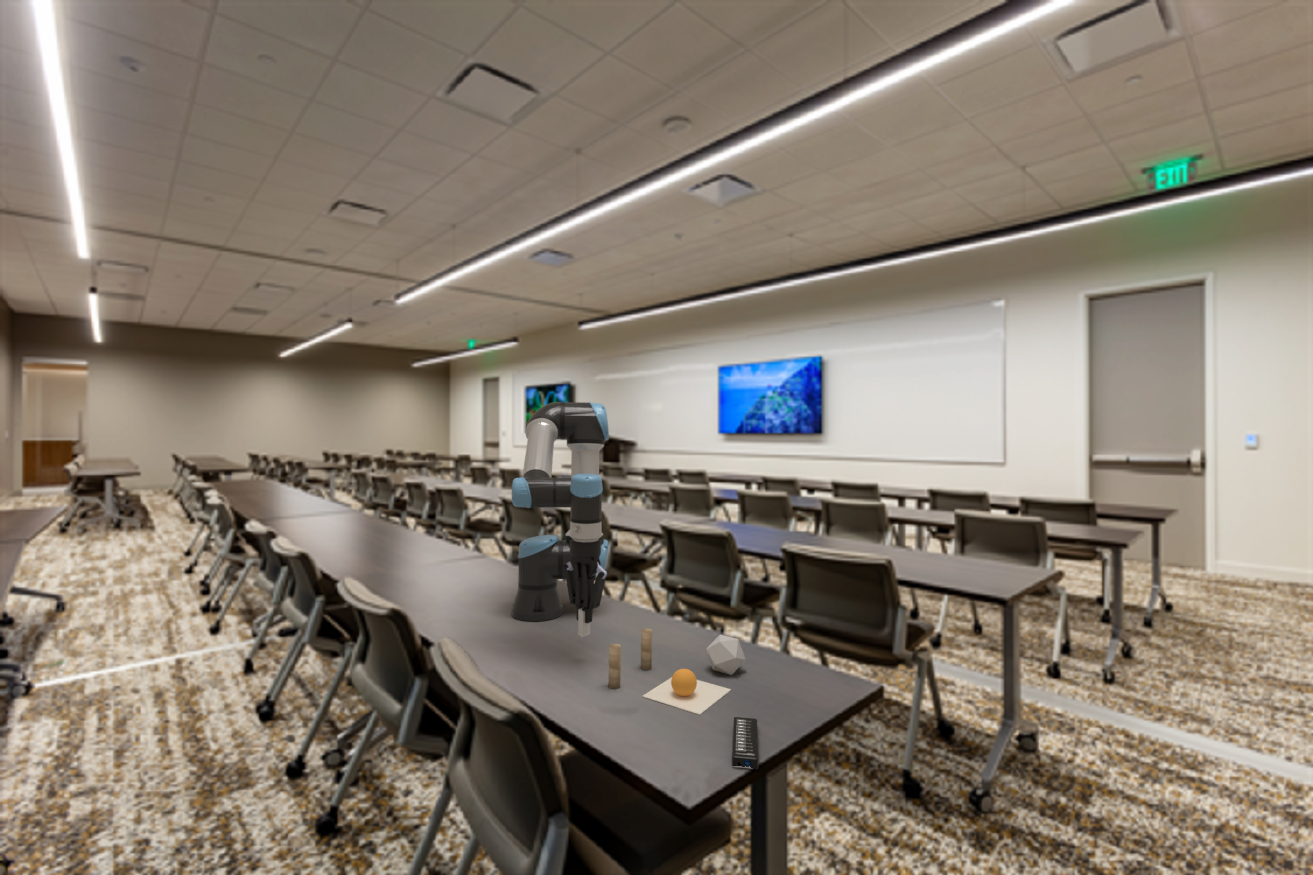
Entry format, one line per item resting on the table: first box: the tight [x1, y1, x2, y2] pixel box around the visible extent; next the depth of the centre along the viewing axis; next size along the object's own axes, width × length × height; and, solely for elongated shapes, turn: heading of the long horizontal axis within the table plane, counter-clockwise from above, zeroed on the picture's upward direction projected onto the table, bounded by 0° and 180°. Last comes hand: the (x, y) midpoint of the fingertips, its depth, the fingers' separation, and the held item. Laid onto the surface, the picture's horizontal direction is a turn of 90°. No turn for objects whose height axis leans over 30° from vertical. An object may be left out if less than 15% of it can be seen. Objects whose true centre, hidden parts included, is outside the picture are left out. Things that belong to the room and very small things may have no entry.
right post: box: [640, 628, 653, 671], centre depth 144 cm, size 3×3×9 cm
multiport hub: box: [731, 716, 759, 771], centre depth 109 cm, size 4×14×2 cm, turn 172°
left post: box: [608, 643, 622, 690], centre depth 133 cm, size 3×3×9 cm
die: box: [705, 634, 747, 676], centre depth 143 cm, size 8×9×10 cm
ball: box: [671, 668, 698, 696], centre depth 130 cm, size 6×6×6 cm
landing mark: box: [641, 676, 732, 716], centre depth 130 cm, size 14×14×1 cm
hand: (584, 634), depth 147 cm, fingers closed
